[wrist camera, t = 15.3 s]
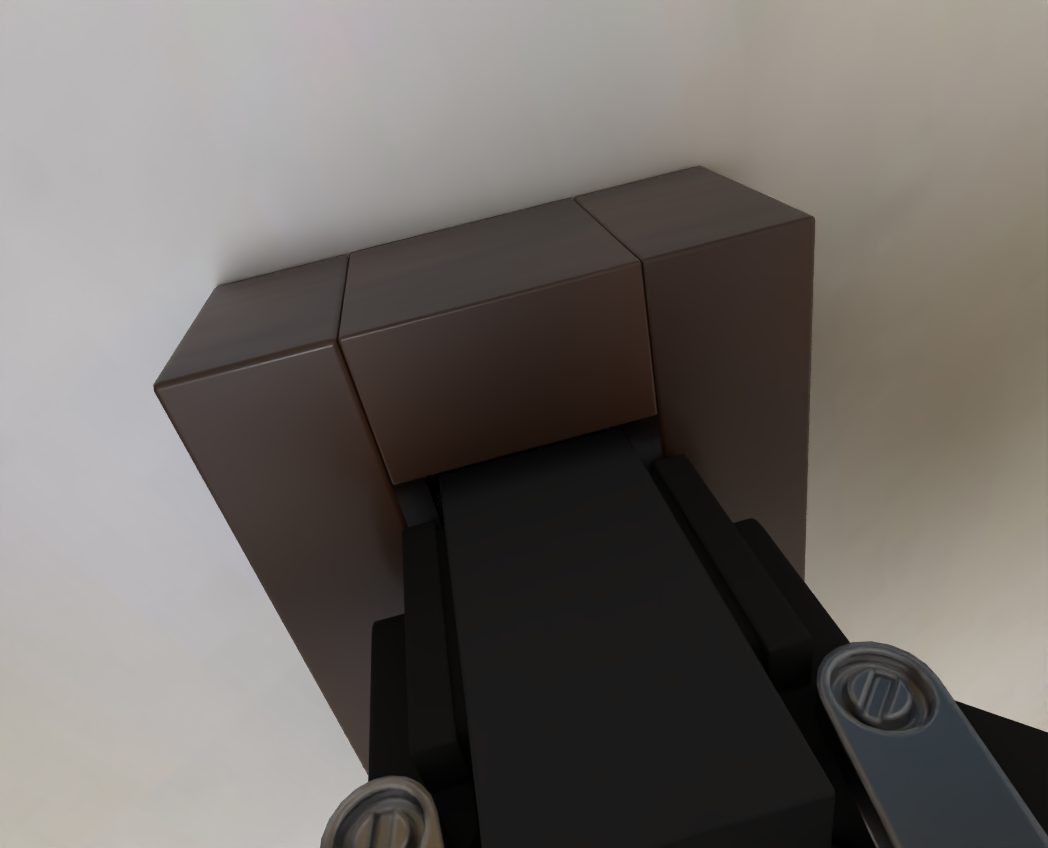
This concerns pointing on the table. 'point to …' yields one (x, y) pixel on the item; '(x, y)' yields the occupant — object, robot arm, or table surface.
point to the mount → (494, 384)
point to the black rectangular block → (611, 668)
